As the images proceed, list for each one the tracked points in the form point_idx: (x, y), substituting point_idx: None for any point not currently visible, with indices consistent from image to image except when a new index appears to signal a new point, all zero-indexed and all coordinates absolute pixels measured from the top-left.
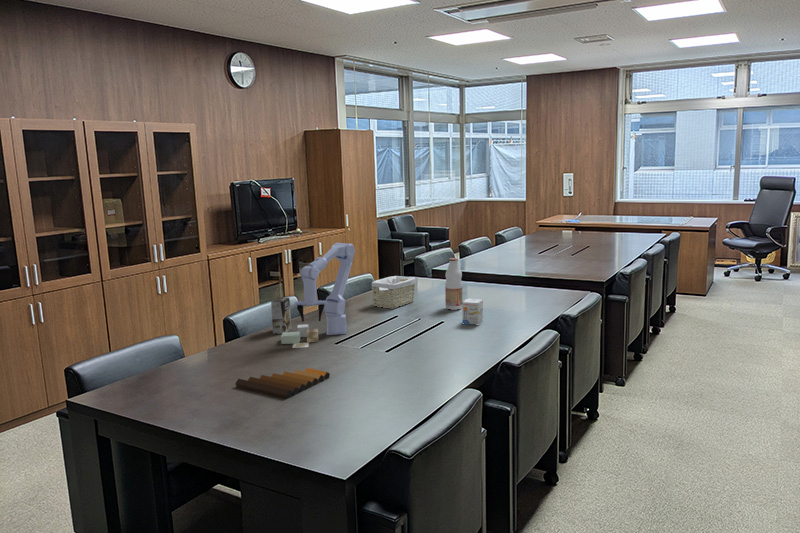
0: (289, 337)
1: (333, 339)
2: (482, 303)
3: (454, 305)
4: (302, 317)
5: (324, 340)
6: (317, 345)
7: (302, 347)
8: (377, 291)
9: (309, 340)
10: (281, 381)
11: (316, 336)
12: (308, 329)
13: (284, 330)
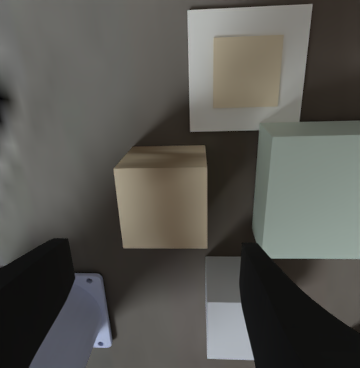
0: (348, 132)
1: (43, 188)
2: None
3: None
4: (263, 268)
5: (95, 175)
6: (124, 63)
7: (231, 8)
8: None
9: (187, 149)
10: None
11: (132, 156)
12: (196, 244)
13: None
